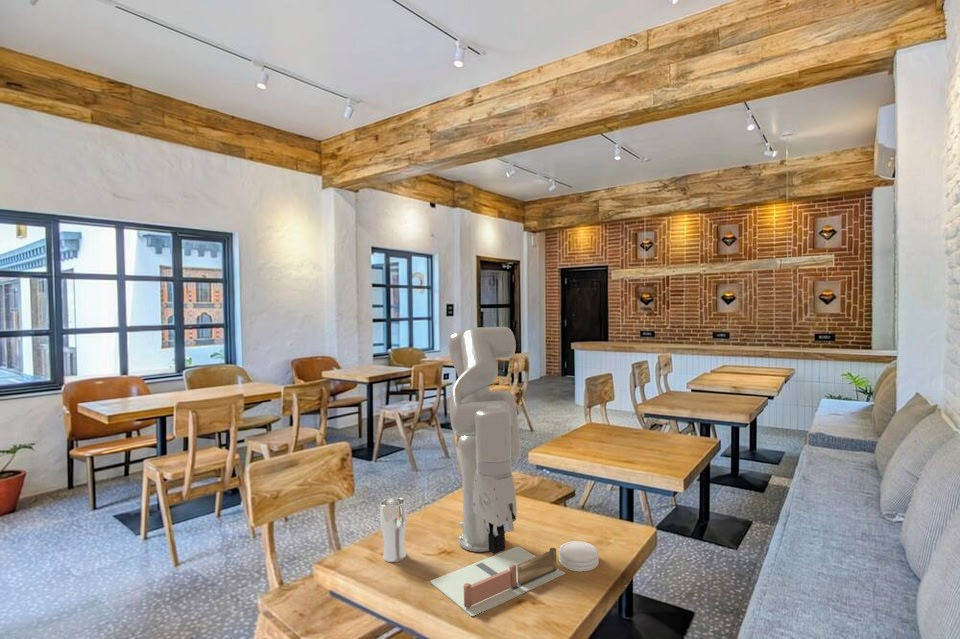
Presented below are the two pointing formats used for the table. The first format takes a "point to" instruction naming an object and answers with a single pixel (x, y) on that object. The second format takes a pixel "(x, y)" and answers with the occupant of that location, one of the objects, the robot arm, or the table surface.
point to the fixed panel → (537, 566)
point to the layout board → (486, 568)
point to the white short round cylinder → (578, 556)
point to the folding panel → (489, 586)
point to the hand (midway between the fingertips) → (497, 550)
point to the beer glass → (393, 528)
